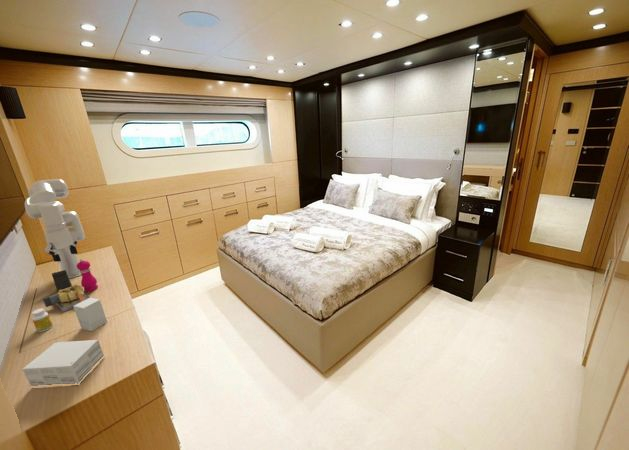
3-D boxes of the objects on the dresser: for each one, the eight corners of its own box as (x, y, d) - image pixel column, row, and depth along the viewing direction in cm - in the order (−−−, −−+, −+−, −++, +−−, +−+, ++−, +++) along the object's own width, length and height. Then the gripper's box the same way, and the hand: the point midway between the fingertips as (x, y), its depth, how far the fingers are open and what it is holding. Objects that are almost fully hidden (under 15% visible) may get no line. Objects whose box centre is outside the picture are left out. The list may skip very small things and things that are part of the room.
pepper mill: (102, 286, 161) (92, 256, 155) (91, 292, 154) (81, 261, 148) (91, 285, 161) (81, 256, 155) (80, 292, 155) (69, 261, 148)
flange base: (54, 302, 145) (50, 293, 143) (81, 292, 154) (78, 283, 153) (62, 312, 136) (59, 302, 134) (91, 300, 145) (88, 291, 144)
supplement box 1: (105, 357, 106) (99, 338, 103) (79, 386, 93) (70, 366, 90) (63, 360, 105) (55, 341, 102) (30, 389, 93) (20, 368, 90)
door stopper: (58, 288, 160) (52, 271, 156) (71, 285, 163) (65, 267, 160) (58, 294, 153) (51, 276, 149) (71, 290, 157) (65, 272, 153)
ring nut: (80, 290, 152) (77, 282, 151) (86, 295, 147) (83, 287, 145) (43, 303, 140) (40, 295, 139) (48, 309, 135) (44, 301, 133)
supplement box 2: (107, 321, 127) (100, 299, 123) (91, 332, 121) (83, 308, 117) (97, 319, 130) (90, 297, 126) (80, 328, 123) (72, 305, 119)
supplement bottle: (42, 333, 121) (34, 315, 118) (34, 331, 122) (26, 313, 119) (55, 325, 126) (49, 308, 123) (47, 323, 127) (40, 306, 124)
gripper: (64, 222, 145) (74, 251, 150) (31, 233, 128) (43, 264, 133) (77, 222, 144) (86, 251, 149) (45, 232, 128) (57, 264, 133)
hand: (66, 257), depth 141 cm, fingers open, 9 cm apart
